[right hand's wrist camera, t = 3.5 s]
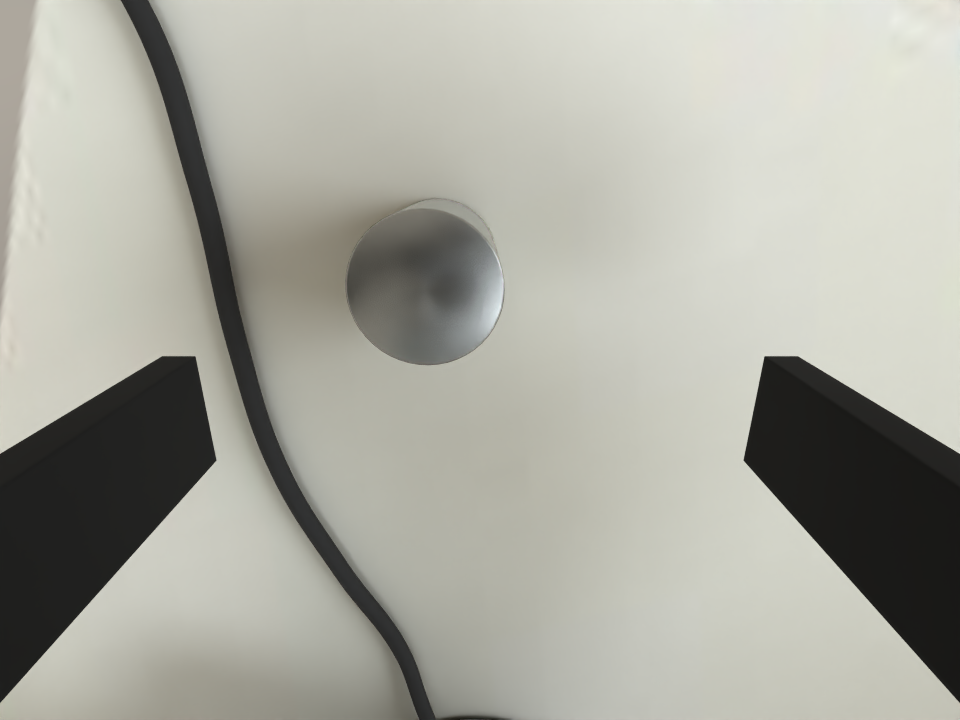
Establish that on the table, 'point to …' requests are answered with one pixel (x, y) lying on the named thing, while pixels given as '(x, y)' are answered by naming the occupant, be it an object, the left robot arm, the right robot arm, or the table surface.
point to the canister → (426, 283)
